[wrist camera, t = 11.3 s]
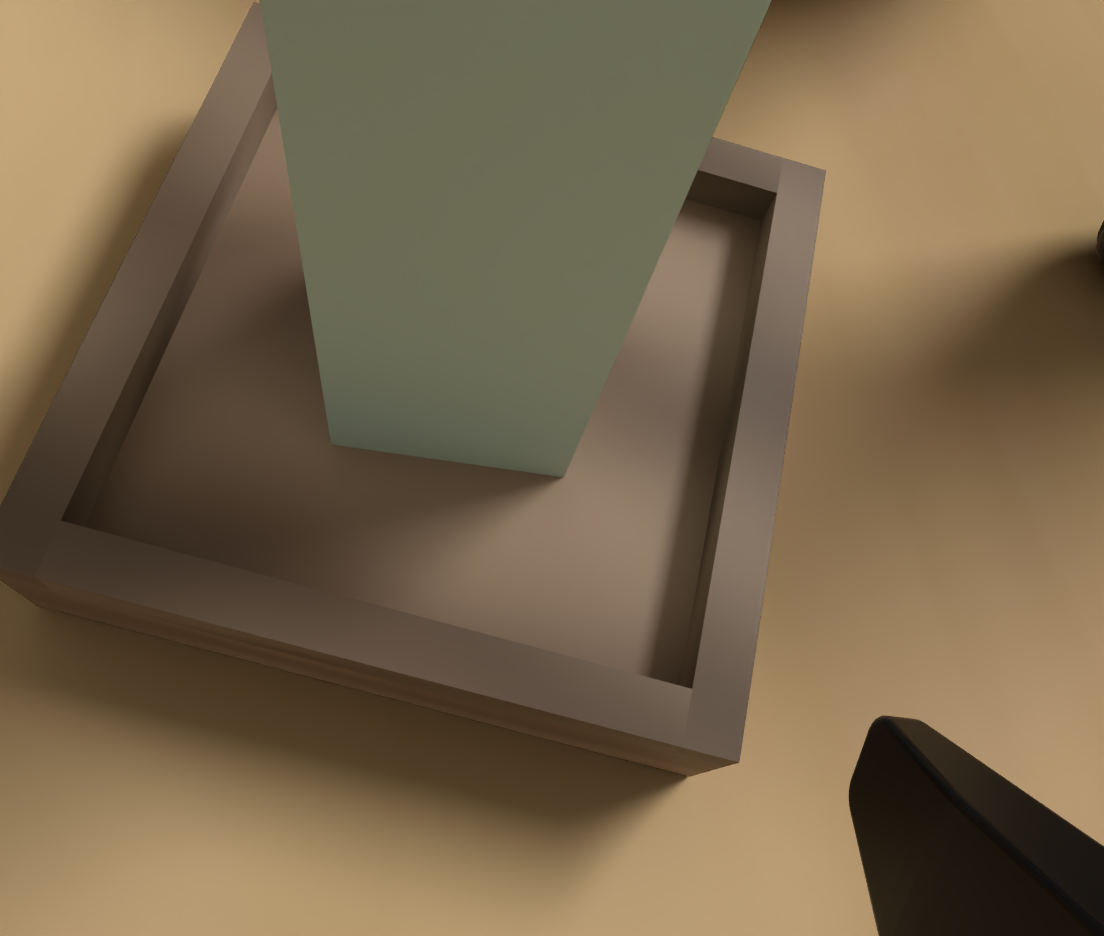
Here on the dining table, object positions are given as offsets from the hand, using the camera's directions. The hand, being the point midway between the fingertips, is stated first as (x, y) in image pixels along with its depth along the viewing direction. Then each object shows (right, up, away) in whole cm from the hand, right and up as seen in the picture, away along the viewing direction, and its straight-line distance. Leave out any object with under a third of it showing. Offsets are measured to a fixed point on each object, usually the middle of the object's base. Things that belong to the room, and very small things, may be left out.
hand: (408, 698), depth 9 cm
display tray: (-1, +4, +12) cm, 13 cm away
